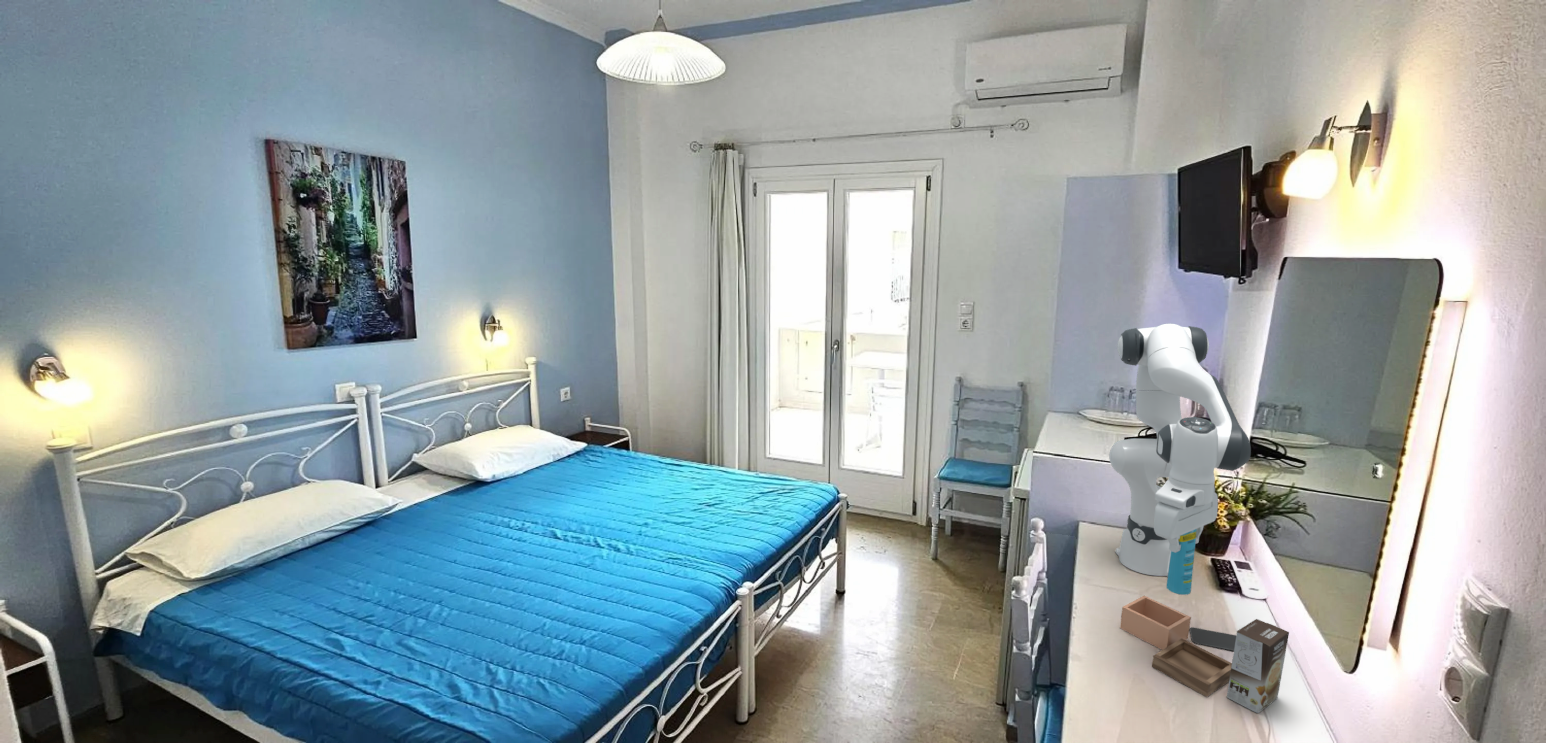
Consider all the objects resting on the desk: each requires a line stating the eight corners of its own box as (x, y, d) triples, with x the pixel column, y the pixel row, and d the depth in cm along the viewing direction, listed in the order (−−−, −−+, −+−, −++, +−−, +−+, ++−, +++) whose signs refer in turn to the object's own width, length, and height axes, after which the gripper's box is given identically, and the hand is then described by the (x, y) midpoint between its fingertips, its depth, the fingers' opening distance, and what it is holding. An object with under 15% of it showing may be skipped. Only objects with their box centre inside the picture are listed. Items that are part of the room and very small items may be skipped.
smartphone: (1188, 625, 171) (1260, 639, 164) (1188, 629, 171) (1259, 642, 164) (1192, 641, 164) (1266, 656, 158) (1191, 645, 164) (1266, 660, 158)
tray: (1180, 649, 162) (1181, 638, 161) (1234, 677, 152) (1236, 665, 151) (1151, 666, 156) (1153, 655, 155) (1206, 696, 146) (1208, 684, 145)
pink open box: (1141, 616, 176) (1144, 595, 174) (1188, 638, 166) (1190, 616, 165) (1120, 628, 171) (1122, 606, 169) (1166, 652, 161) (1169, 629, 160)
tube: (1181, 599, 153) (1189, 519, 150) (1159, 590, 157) (1167, 512, 154) (1197, 589, 157) (1206, 512, 154) (1176, 581, 161) (1184, 505, 158)
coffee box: (1259, 715, 140) (1270, 646, 137) (1225, 697, 146) (1235, 631, 142) (1278, 697, 145) (1290, 631, 142) (1245, 681, 150) (1255, 617, 147)
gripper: (1200, 477, 160) (1193, 531, 163) (1150, 494, 150) (1145, 552, 153) (1228, 485, 155) (1221, 541, 158) (1179, 503, 145) (1173, 563, 147)
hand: (1183, 546), depth 155 cm, fingers closed on tube, 6 cm apart
